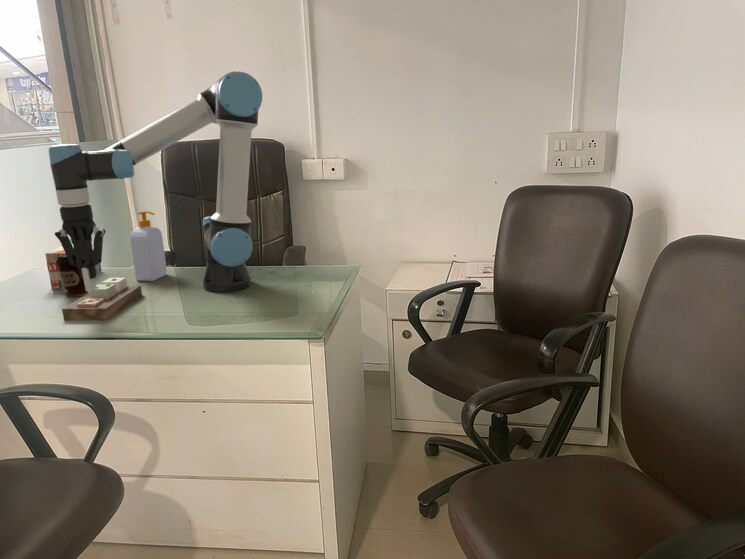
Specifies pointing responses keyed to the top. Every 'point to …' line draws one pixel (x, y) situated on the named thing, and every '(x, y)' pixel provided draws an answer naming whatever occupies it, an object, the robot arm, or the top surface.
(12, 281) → the top surface
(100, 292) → the tile two
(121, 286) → the tile one
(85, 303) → the tile three
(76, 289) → the coffee cup
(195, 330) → the top surface
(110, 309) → the brown flat block
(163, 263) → the soap bottle
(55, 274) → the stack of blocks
